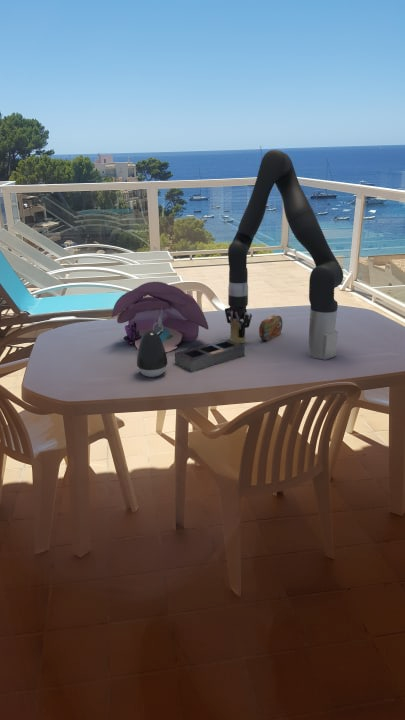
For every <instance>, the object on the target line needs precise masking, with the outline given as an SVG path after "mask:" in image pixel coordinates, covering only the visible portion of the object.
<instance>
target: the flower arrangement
mask: <svg viewBox="0 0 405 720" xmlns="http://www.w3.org/2000/svg"><path fill="white" fill-rule="evenodd" d="M115 316H117V319H116V322H117V324H125V323H127V322H128V324H126V325H125V326H124V330H125V333H126V335H125V336H124V337H123V341H125V342H126V343H128V344H130V345H131V344H134V345H135V347H136V349H138V348H139V344H140V341H141V338H142V336H143V335H144V333H146V332H148V331H154V332H156V333H157V332H159V331H160V330H162V331H163V332H162V334H161V335H160V336H159V337H160V339H161V341H162V343H163V345H164V348H165V352H166V353H168V352H171V351H174V350H175V349H178V346H177V345H179V344H180V343H181V341H184V342H194V341H196V340H197V339H198V337H199V331H200V327H201V328H203V329H205V330H209V325H208V321H207V319H206V316H205V314H204V312H203V311H202V308H201V306H200V305H199V303H198V302H197V300H196V299H195V298H194V296H192V295H191V294H190V293H186V292H185V291H183V290H182V289H181V288H179V287H177V286H174V285H169V284H167V283H166V282H162V281H148V282H145V283H143V284H141V285H139V286H137V287H135V288H134V289H130V291H127V292H125V293H124V294H122V295H121V296H120V297H119V298H118V299H117V300H116V302H115V304H114V306H113V308H112V312H111V319H112V318H114V317H115Z"/></svg>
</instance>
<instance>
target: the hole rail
mask: <svg viewBox="0 0 405 720" xmlns="http://www.w3.org/2000/svg"><path fill="white" fill-rule="evenodd" d="M245 346H246V345H243V343H241V344H239V343H237V342H234V341H232V340H231V339H228V338H225V339H220V340H218V341H214V342H213V341H212V342H211V343H206V344H203V345H199V346H196V347H192V348H188V349H185V350H181V351H178V352H174V363H175V365H178V367H181V368H182V369H184V370H187V371H188V372H190V373H193V372H195V371H199V370H203V369H206V368H209V367H213V366H216V365H219V364H222V363H226V362H229V361H232V360H235V359H238V358H242V357H245V353H246V352H245V349H246V348H245Z"/></svg>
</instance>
